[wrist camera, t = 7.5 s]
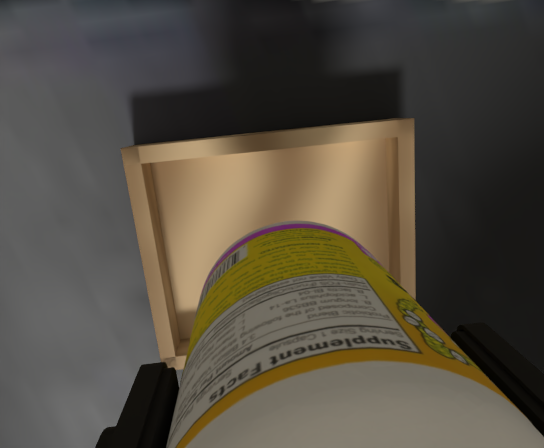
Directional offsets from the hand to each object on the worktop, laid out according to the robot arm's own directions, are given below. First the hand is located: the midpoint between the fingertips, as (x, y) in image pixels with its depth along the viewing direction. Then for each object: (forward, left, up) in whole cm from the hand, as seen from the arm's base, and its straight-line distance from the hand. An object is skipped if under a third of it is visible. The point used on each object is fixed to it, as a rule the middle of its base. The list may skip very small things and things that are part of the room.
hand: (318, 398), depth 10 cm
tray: (0, 0, -14) cm, 14 cm away
